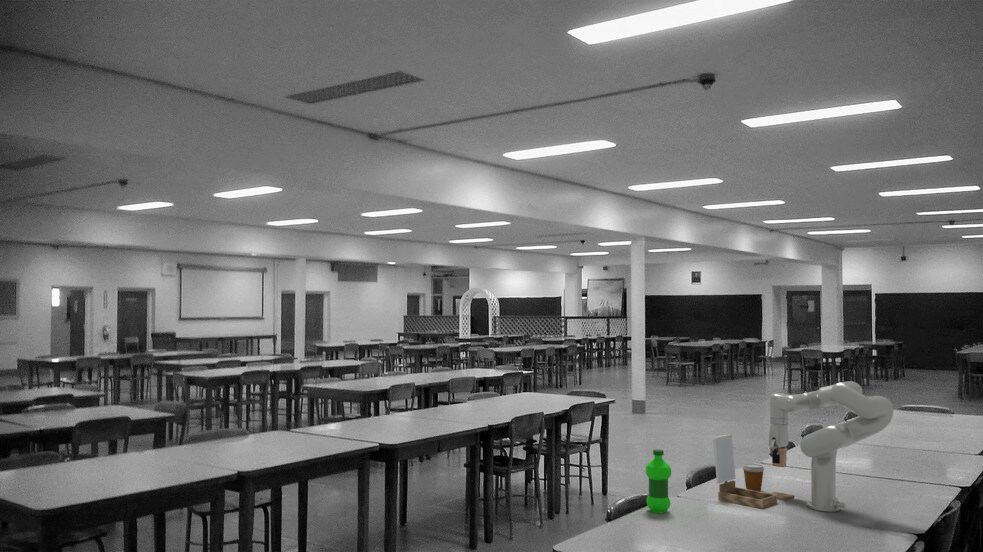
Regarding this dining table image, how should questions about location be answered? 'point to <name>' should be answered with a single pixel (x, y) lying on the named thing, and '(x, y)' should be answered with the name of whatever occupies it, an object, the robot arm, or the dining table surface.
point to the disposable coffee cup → (753, 476)
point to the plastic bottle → (658, 483)
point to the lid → (724, 458)
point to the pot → (781, 457)
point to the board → (783, 496)
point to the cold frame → (745, 496)
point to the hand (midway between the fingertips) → (779, 461)
